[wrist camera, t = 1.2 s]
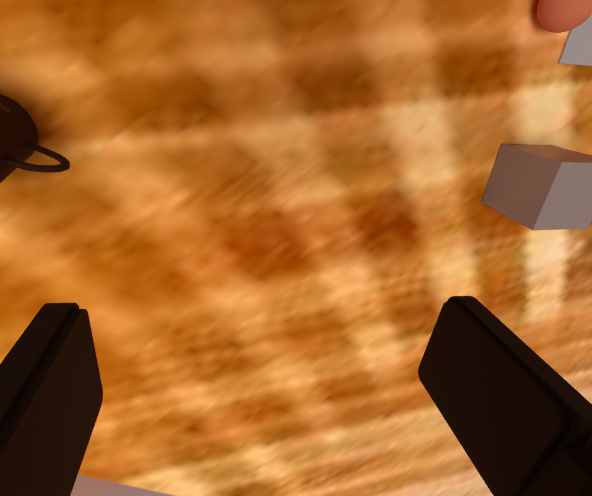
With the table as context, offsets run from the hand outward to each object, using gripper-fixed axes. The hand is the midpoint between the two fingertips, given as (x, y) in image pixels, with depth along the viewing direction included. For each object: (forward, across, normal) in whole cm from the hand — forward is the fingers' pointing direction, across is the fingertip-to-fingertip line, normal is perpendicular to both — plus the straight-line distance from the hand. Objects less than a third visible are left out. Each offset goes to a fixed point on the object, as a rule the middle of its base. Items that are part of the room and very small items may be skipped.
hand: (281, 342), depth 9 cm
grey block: (+31, -37, +2) cm, 48 cm away
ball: (+28, -32, -16) cm, 45 cm away
